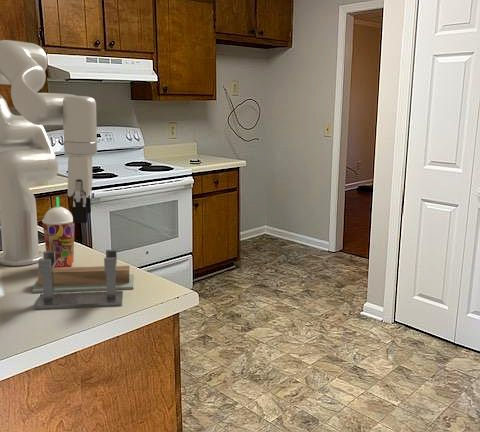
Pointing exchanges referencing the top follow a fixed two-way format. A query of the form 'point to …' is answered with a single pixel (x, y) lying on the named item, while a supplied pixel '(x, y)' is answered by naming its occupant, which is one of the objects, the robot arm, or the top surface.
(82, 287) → the mat
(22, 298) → the top surface
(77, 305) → the stand
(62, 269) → the rail
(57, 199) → the smoothie
